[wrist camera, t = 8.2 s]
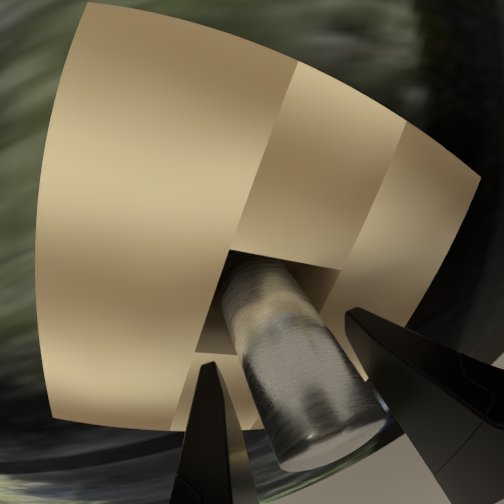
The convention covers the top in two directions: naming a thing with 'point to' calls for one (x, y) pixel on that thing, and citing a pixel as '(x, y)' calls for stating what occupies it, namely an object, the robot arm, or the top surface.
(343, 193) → the birch hole block
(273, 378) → the long steel pin
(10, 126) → the top surface
